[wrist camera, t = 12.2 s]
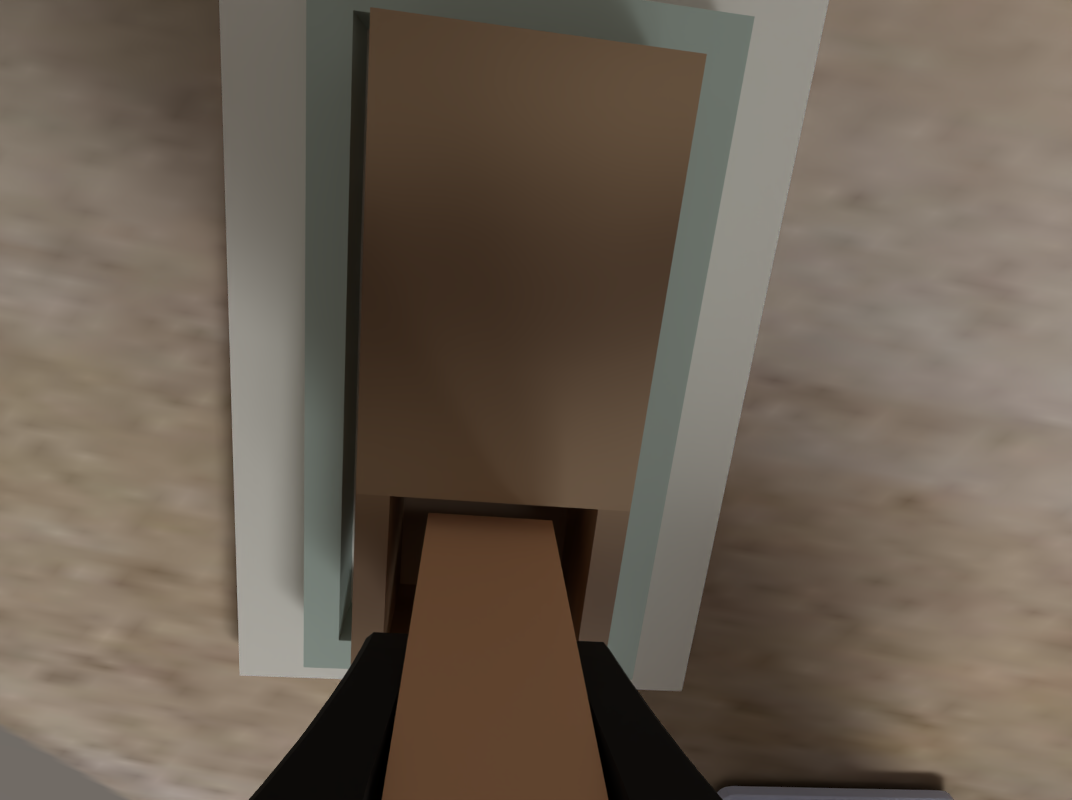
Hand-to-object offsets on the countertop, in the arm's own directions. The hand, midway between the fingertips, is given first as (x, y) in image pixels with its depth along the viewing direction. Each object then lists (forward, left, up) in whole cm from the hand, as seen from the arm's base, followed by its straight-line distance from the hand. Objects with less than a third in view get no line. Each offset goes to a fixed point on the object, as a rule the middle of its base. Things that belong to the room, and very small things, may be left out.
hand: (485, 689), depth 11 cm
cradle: (+4, 0, -7) cm, 8 cm away
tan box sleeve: (+4, 0, -6) cm, 7 cm away
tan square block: (0, 0, -3) cm, 3 cm away
